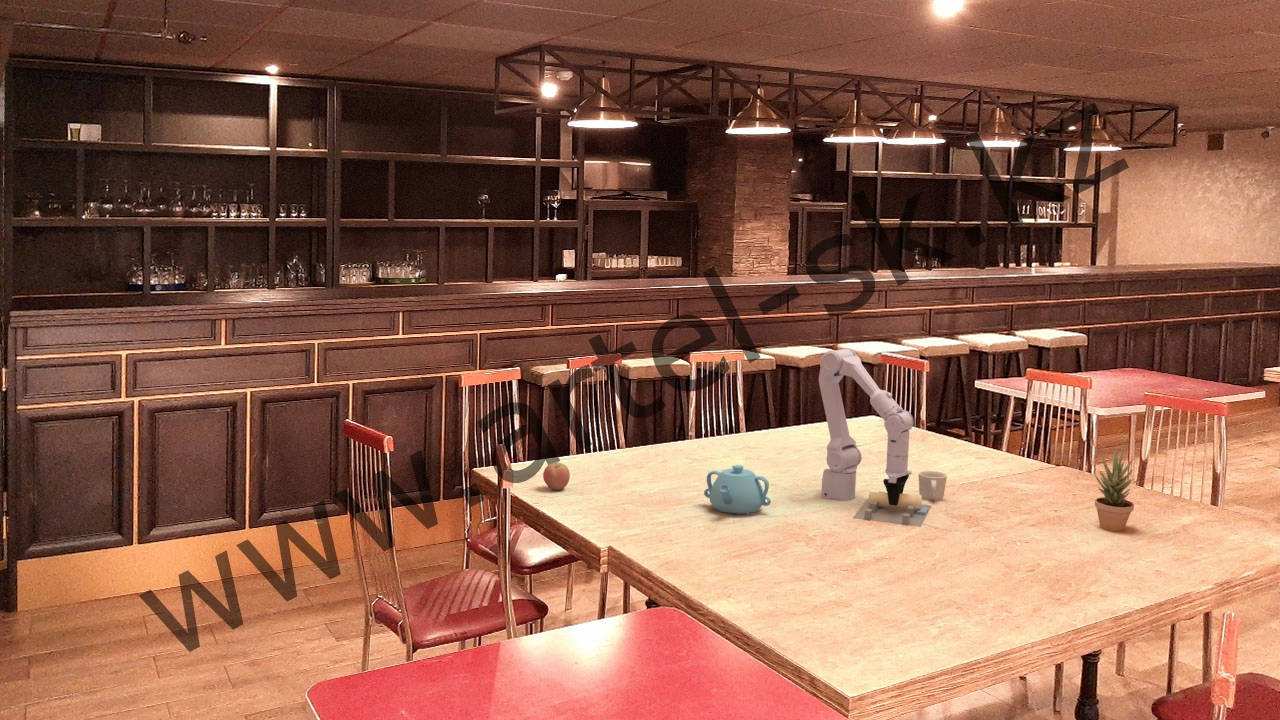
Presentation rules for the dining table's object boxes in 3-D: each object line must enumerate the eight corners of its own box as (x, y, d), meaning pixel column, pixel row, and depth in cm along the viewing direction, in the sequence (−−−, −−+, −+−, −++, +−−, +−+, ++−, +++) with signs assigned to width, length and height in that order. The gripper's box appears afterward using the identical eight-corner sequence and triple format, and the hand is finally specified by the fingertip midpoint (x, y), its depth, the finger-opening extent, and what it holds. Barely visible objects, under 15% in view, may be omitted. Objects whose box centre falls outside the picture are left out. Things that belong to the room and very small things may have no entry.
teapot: (778, 507, 291) (780, 464, 289) (756, 526, 273) (757, 479, 272) (713, 498, 299) (714, 456, 298) (687, 516, 281) (688, 471, 280)
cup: (947, 507, 293) (949, 480, 292) (918, 505, 295) (920, 478, 294) (944, 498, 304) (945, 471, 303) (916, 496, 305) (917, 469, 304)
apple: (538, 491, 305) (538, 464, 303) (550, 485, 312) (550, 459, 310) (562, 494, 302) (563, 467, 301) (574, 488, 309) (574, 462, 308)
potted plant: (1115, 535, 270) (1123, 443, 266) (1085, 525, 278) (1092, 436, 275) (1141, 530, 274) (1148, 439, 271) (1110, 521, 283) (1117, 433, 279)
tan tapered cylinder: (868, 507, 288) (868, 493, 288) (871, 504, 292) (871, 490, 292) (919, 510, 283) (919, 496, 283) (921, 507, 287) (921, 493, 286)
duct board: (852, 521, 279) (852, 509, 278) (867, 501, 299) (868, 490, 298) (920, 530, 272) (921, 517, 271) (931, 509, 292) (932, 497, 291)
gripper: (908, 461, 277) (905, 510, 279) (916, 450, 291) (913, 497, 293) (881, 459, 280) (879, 507, 282) (890, 448, 293) (888, 494, 295)
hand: (895, 502), depth 287 cm, fingers open, 5 cm apart
